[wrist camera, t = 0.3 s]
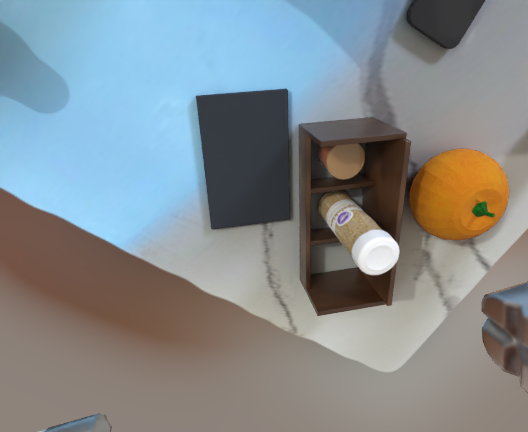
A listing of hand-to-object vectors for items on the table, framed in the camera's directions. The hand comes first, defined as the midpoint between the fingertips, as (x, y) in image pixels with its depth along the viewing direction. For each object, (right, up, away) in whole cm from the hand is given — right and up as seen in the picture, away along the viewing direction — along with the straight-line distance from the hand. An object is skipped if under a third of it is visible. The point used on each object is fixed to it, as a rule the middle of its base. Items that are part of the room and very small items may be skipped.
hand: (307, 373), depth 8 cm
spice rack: (+8, +5, +44) cm, 45 cm away
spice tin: (+8, +11, +40) cm, 43 cm away
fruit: (+23, +8, +46) cm, 52 cm away
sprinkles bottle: (+8, +5, +44) cm, 45 cm away
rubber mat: (-3, +10, +39) cm, 40 cm away
